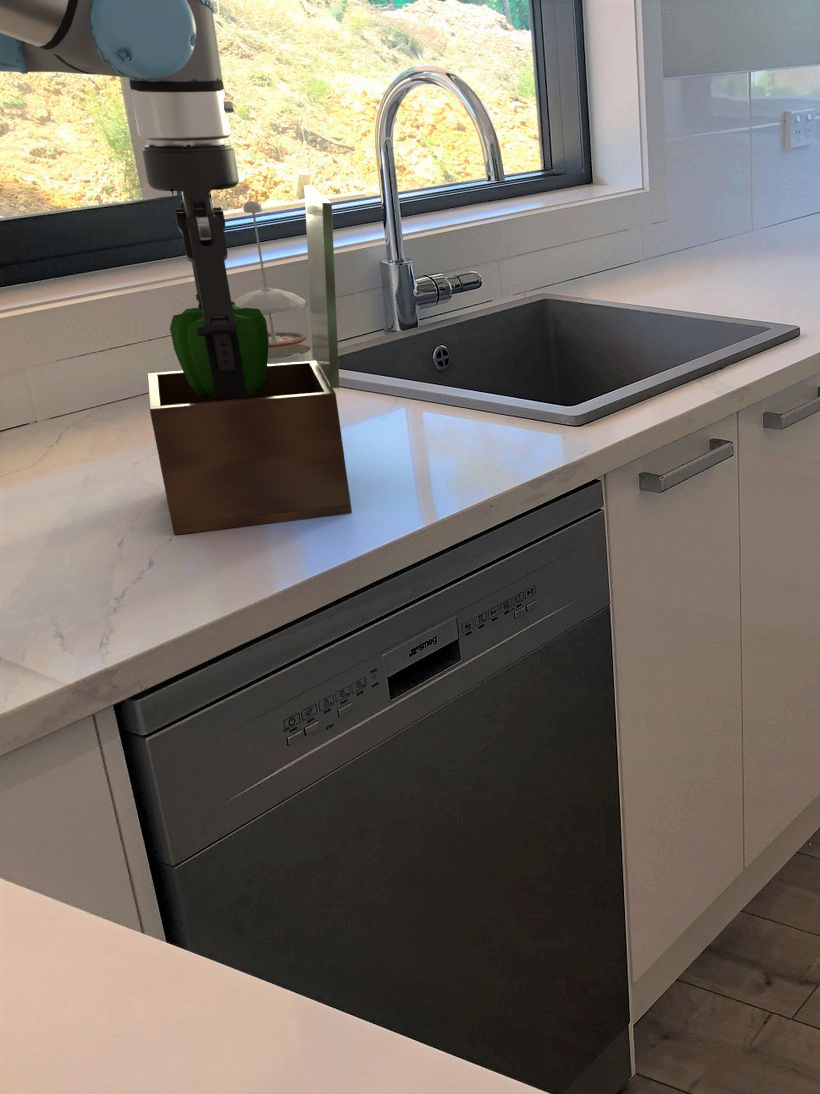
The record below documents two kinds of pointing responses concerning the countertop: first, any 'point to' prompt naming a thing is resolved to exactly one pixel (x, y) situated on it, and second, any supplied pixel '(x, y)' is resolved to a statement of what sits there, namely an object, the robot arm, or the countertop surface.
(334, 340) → the lid
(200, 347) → the bell pepper
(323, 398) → the chest
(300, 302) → the french press
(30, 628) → the countertop surface
